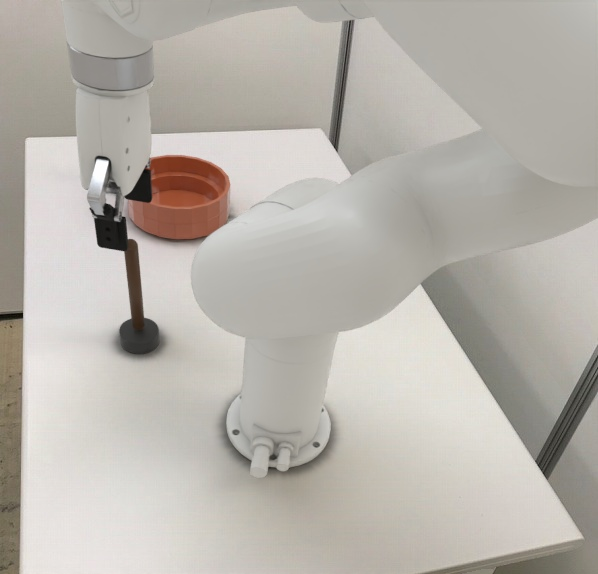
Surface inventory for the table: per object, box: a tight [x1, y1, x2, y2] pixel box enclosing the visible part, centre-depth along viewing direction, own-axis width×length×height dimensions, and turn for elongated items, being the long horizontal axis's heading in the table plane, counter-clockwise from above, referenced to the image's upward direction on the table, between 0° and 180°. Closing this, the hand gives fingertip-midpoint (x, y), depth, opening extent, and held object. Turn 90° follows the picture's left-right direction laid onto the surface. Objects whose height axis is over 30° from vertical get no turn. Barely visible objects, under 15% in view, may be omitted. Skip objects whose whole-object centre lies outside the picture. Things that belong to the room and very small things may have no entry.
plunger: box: [118, 238, 160, 355], centre depth 79 cm, size 5×5×16 cm
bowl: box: [126, 154, 231, 240], centre depth 104 cm, size 16×16×6 cm
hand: (126, 222), depth 72 cm, fingers open, 9 cm apart
